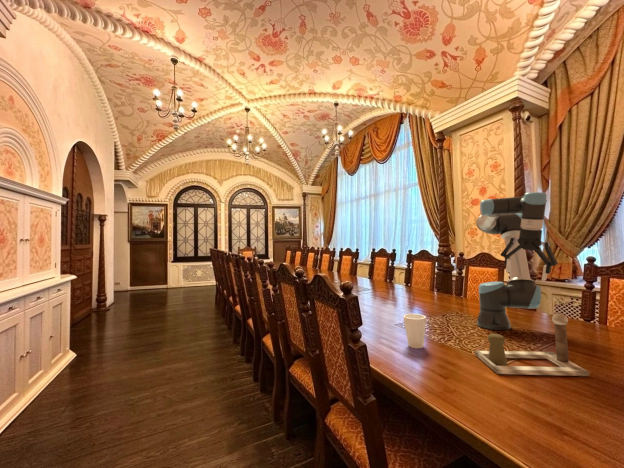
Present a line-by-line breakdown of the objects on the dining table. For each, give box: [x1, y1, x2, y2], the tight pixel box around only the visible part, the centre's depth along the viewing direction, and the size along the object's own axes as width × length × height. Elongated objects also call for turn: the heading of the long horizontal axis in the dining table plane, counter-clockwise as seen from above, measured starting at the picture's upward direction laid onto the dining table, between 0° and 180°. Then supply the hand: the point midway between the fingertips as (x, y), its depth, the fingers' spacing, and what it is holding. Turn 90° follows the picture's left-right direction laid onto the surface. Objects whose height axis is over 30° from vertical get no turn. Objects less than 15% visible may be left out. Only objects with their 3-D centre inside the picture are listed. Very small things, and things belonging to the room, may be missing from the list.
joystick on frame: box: [474, 312, 590, 377], centre depth 103 cm, size 28×17×18 cm, turn 83°
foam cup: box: [403, 313, 427, 349], centre depth 126 cm, size 10×9×13 cm
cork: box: [487, 333, 508, 366], centre depth 104 cm, size 6×6×11 cm
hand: (525, 276), depth 124 cm, fingers open, 13 cm apart
